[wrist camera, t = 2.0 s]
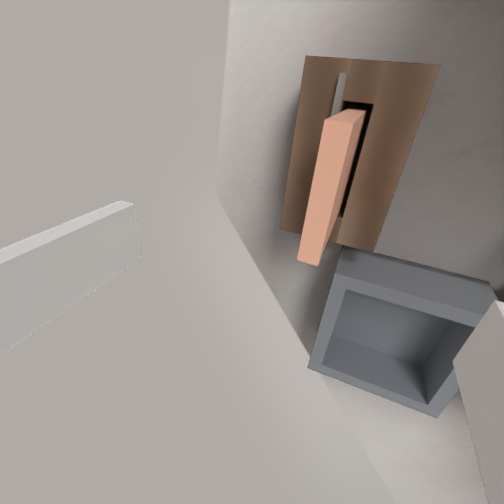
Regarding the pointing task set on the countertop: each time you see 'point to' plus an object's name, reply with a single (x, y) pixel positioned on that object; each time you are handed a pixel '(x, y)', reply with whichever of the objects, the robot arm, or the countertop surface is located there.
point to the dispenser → (371, 142)
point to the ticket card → (330, 180)
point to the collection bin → (397, 328)
